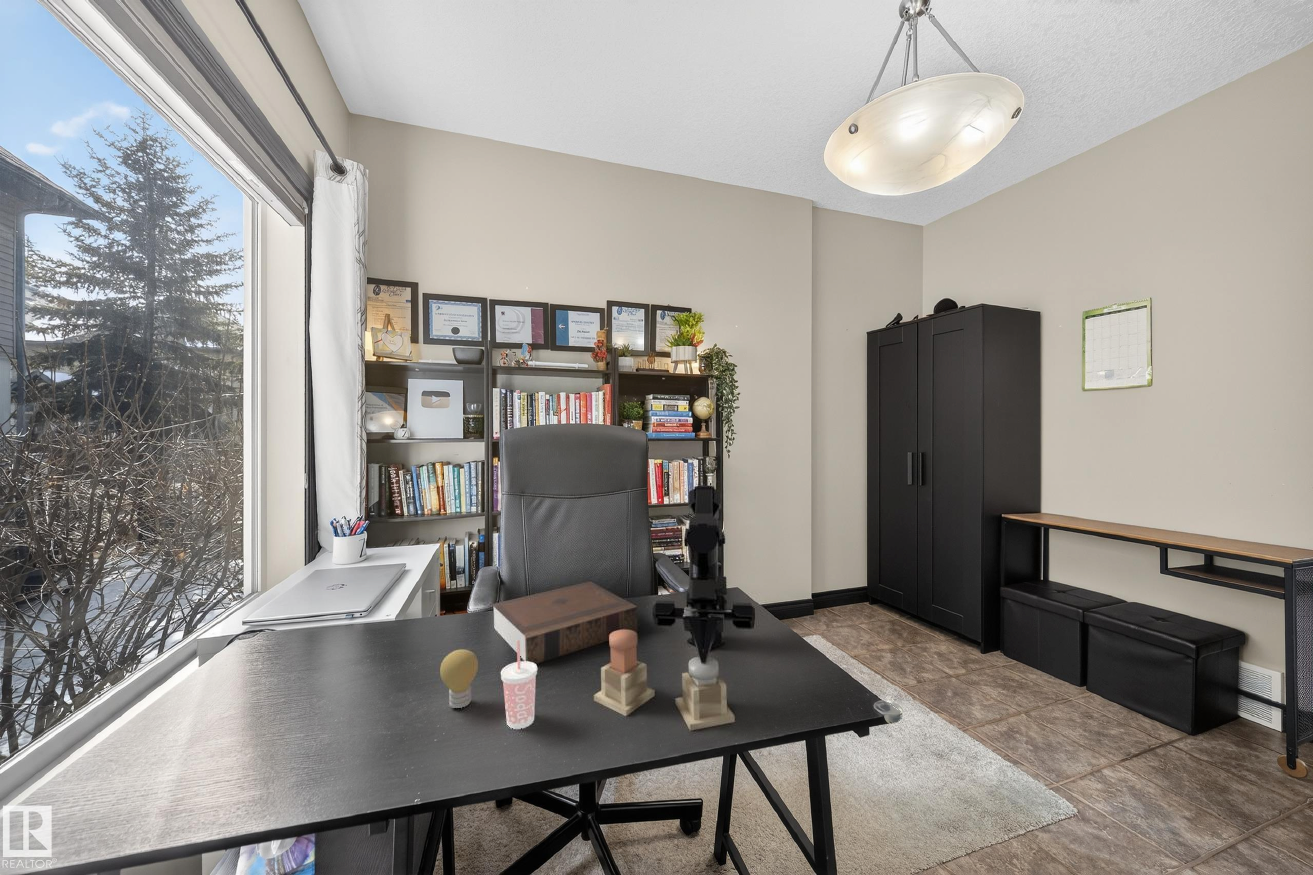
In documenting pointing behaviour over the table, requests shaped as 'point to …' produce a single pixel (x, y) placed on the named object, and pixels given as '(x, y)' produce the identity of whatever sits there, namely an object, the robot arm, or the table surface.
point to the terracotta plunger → (623, 650)
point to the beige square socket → (704, 704)
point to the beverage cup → (519, 692)
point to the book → (562, 620)
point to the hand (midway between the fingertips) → (703, 662)
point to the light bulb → (459, 676)
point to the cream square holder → (624, 689)
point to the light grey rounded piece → (703, 671)
